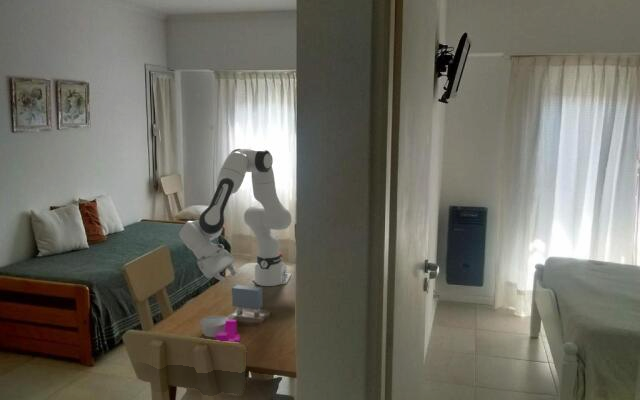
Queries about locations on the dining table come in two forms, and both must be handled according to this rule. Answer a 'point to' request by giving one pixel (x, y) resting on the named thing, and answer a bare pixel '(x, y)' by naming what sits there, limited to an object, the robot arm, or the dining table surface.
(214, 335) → the ramekin
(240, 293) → the slate block
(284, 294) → the dining table surface
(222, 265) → the robot arm
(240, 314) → the peg stand
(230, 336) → the toy block
